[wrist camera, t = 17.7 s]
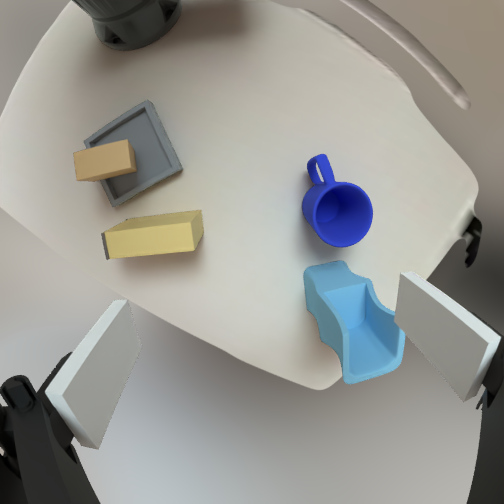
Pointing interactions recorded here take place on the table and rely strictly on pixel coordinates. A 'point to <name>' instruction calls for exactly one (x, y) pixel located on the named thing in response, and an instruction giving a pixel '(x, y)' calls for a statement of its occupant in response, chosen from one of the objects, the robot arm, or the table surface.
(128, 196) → the tray
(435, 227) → the table surface
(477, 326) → the robot arm
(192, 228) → the grey-ended yellow block
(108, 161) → the stub
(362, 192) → the mug
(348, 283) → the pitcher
